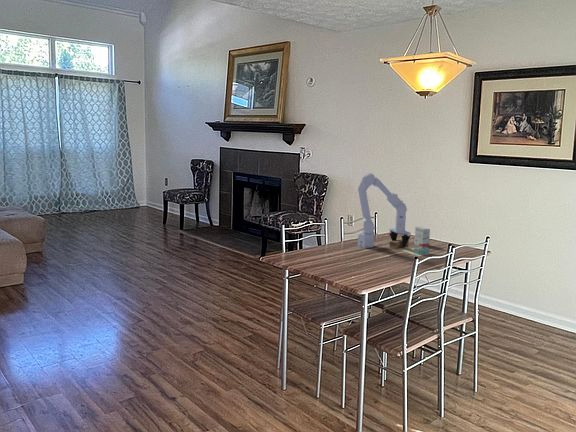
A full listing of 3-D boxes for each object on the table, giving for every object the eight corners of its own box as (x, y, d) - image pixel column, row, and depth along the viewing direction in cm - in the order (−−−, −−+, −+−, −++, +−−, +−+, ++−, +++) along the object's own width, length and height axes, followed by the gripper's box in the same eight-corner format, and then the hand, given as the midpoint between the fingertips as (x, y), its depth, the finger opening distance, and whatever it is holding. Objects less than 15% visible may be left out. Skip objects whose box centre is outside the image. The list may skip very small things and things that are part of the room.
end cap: (420, 255, 281) (420, 249, 280) (413, 253, 284) (414, 248, 284) (429, 253, 285) (429, 248, 285) (423, 251, 289) (423, 246, 288)
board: (418, 257, 278) (418, 256, 278) (387, 249, 297) (387, 247, 297) (433, 254, 286) (433, 253, 286) (402, 246, 304) (402, 245, 304)
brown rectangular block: (394, 249, 293) (395, 242, 292) (389, 248, 296) (389, 241, 295) (408, 246, 300) (408, 240, 299) (403, 245, 303) (403, 239, 302)
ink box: (429, 248, 303) (430, 228, 301) (422, 248, 301) (423, 229, 299) (420, 244, 311) (421, 226, 309) (413, 245, 309) (415, 226, 307)
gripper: (414, 224, 292) (413, 247, 294) (395, 220, 304) (394, 242, 306) (406, 225, 288) (405, 249, 290) (387, 221, 299) (386, 244, 302)
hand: (399, 245), depth 298 cm, fingers open, 7 cm apart
